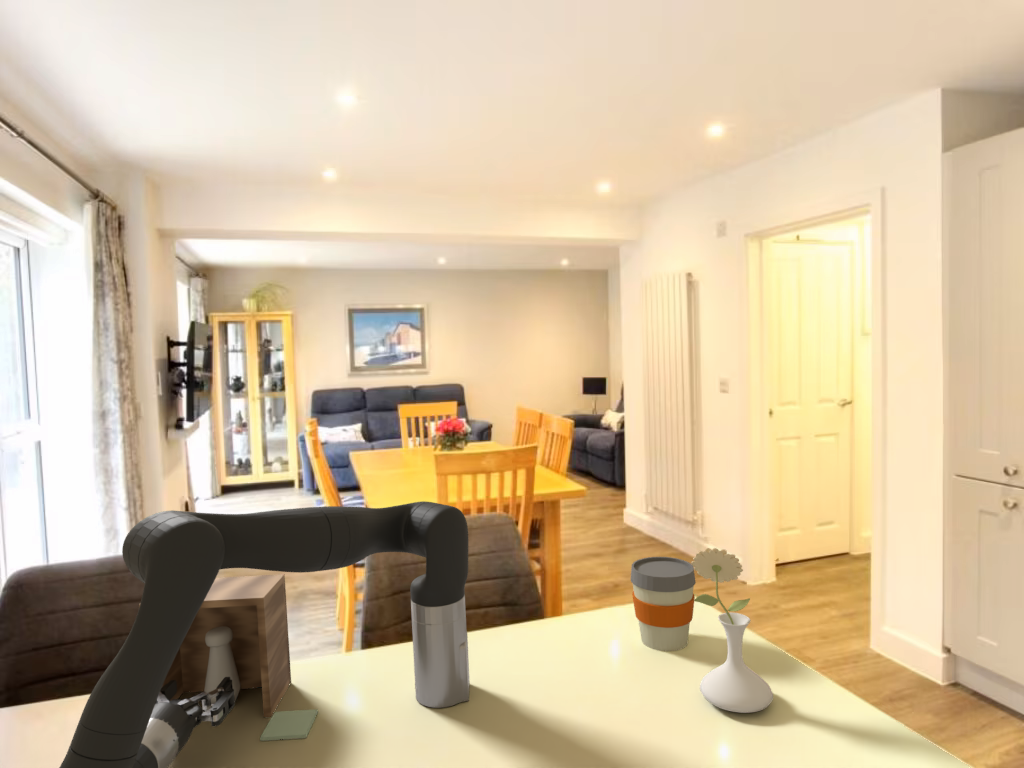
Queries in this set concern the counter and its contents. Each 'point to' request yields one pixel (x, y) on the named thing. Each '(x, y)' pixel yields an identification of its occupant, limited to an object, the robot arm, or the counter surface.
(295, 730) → the mat
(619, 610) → the counter surface
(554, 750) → the counter surface
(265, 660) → the cubby
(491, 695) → the counter surface
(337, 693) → the counter surface
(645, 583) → the reusable coffee cup
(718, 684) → the flower in vase
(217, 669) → the salt shaker
